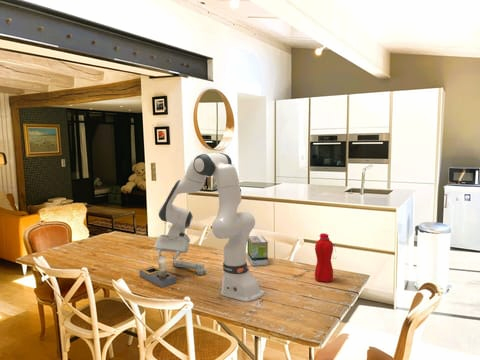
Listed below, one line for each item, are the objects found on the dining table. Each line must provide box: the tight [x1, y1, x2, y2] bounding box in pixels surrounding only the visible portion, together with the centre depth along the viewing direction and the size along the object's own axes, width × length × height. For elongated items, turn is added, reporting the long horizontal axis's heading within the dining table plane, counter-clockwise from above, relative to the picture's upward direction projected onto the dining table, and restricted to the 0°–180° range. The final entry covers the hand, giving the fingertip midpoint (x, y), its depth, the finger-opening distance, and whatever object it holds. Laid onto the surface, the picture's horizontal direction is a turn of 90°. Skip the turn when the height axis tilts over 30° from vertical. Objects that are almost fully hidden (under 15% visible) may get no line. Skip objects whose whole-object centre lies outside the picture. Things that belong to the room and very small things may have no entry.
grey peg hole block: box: [138, 265, 177, 288], centre depth 199 cm, size 23×9×4 cm, turn 44°
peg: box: [157, 255, 167, 279], centre depth 195 cm, size 4×4×14 cm
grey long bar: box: [172, 259, 207, 276], centre depth 212 cm, size 5×7×25 cm
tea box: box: [247, 235, 269, 267], centre depth 224 cm, size 15×10×15 cm, turn 9°
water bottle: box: [314, 232, 337, 283], centre depth 193 cm, size 9×11×25 cm
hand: (166, 258), depth 199 cm, fingers open, 8 cm apart
